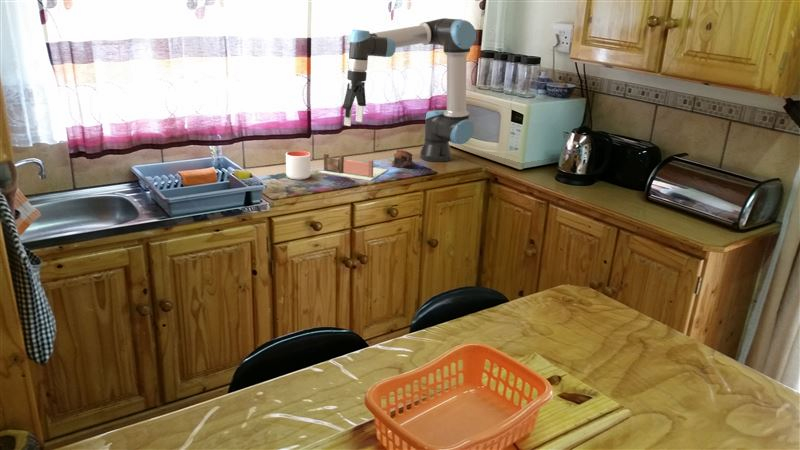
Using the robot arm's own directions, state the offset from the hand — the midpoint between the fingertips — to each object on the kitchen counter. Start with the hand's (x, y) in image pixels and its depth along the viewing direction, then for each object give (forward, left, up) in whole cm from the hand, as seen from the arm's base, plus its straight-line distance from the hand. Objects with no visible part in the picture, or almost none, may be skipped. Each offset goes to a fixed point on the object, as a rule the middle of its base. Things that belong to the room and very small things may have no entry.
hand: (353, 123), depth 260 cm
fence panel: (-1, -4, -22) cm, 23 cm away
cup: (+20, +10, -23) cm, 32 cm away
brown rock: (-11, -30, -24) cm, 40 cm away
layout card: (+4, -10, -23) cm, 25 cm away
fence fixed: (+11, -4, -23) cm, 26 cm away
